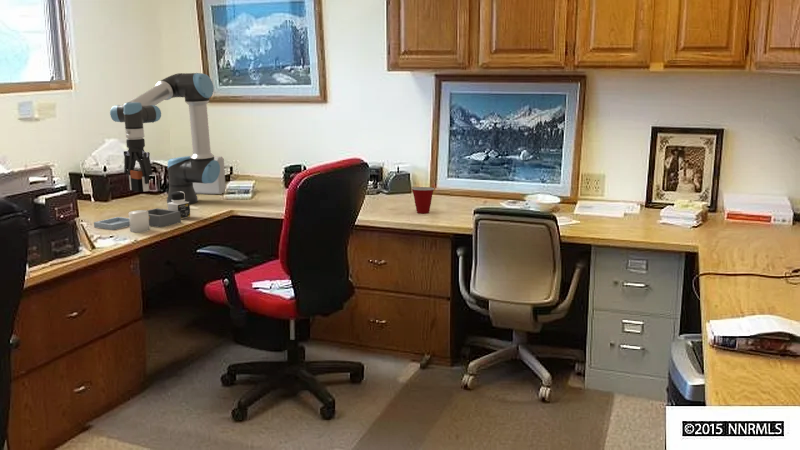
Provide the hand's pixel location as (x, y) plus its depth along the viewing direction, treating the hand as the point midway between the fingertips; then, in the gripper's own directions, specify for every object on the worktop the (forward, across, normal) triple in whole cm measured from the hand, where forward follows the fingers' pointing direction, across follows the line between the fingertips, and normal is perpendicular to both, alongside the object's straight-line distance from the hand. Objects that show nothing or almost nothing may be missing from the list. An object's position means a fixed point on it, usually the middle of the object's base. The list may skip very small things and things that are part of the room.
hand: (139, 190), depth 334 cm
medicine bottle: (+16, +4, +18) cm, 24 cm away
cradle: (+15, +5, +5) cm, 17 cm away
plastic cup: (+15, +100, +78) cm, 128 cm away
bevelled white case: (+15, -29, +71) cm, 78 cm away
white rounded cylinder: (+15, +8, -9) cm, 20 cm away
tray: (+15, -8, -8) cm, 19 cm away
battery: (0, 0, 0) cm, 0 cm away
